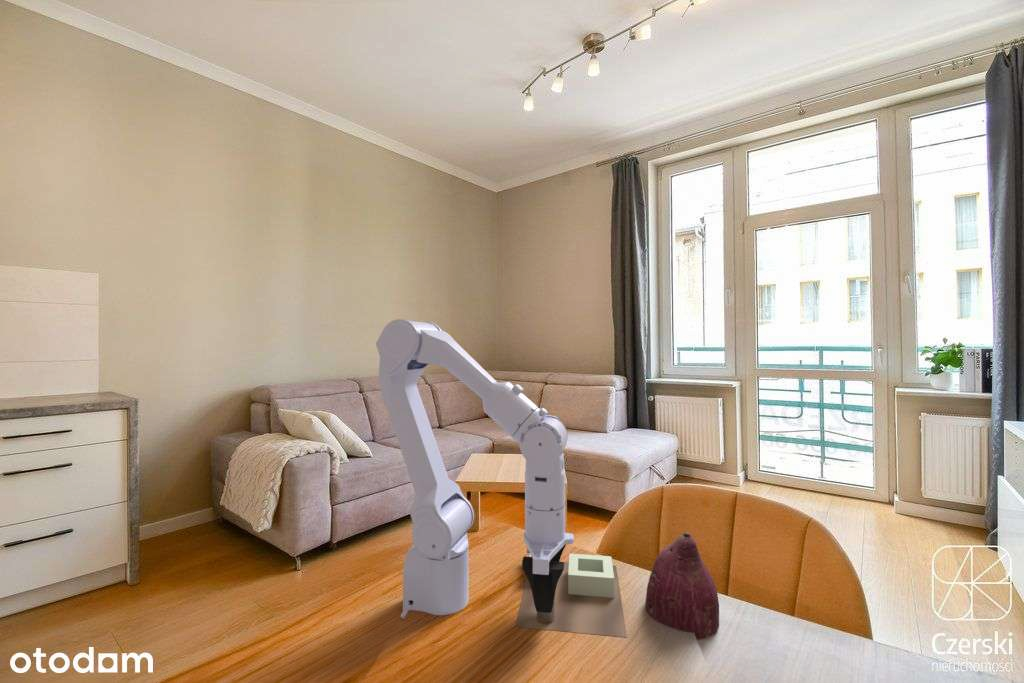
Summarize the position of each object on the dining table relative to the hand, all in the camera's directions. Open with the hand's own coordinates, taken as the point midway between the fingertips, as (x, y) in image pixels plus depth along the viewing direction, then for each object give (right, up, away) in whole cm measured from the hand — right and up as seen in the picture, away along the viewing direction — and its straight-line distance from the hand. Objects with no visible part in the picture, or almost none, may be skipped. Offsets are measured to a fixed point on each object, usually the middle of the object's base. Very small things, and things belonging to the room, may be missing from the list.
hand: (545, 599), depth 62 cm
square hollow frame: (+8, -4, +9) cm, 12 cm away
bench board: (+5, -4, +6) cm, 9 cm away
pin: (0, -3, 0) cm, 3 cm away
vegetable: (+20, -4, +2) cm, 21 cm away
